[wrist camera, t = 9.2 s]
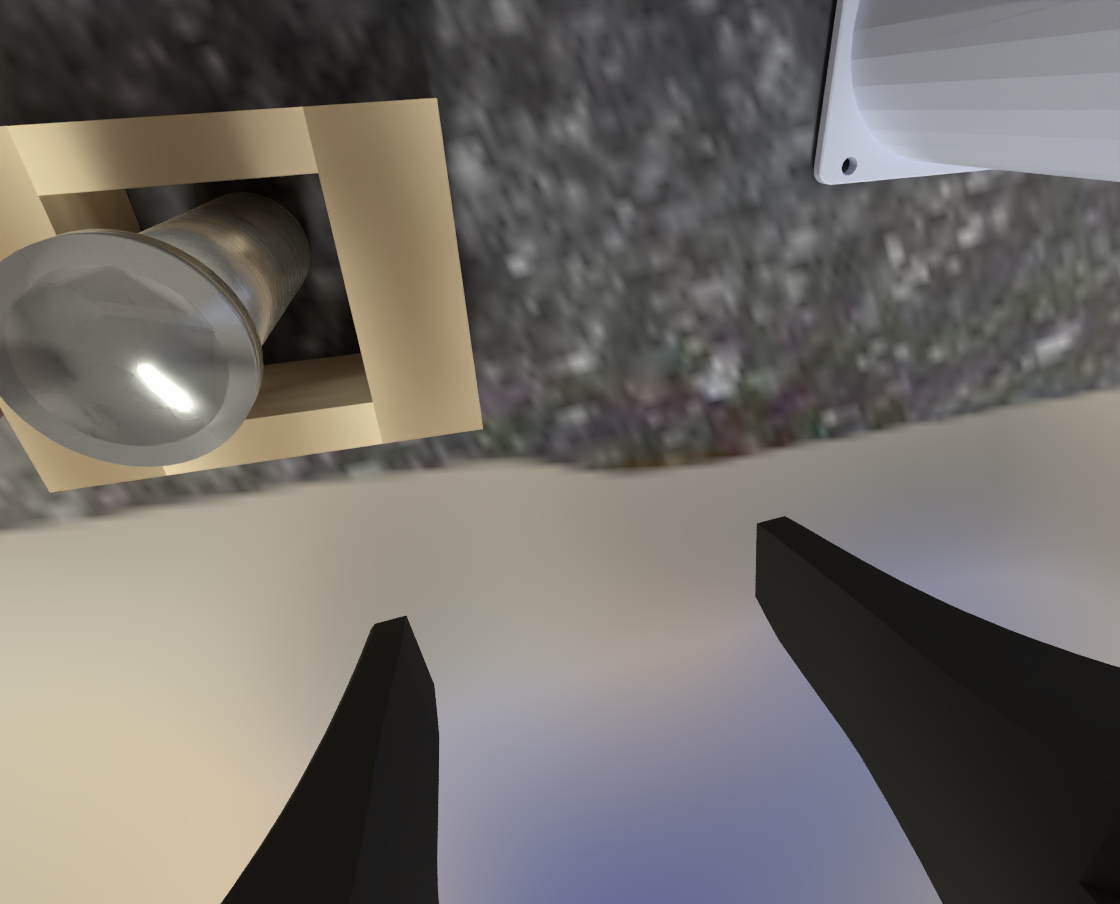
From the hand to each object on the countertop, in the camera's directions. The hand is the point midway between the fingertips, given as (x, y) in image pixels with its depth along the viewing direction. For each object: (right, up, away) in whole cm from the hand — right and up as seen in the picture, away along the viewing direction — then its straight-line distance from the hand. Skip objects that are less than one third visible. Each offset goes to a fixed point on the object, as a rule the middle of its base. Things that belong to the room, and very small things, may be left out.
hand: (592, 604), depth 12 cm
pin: (-9, +9, +5) cm, 14 cm away
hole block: (-9, +8, +5) cm, 13 cm away
